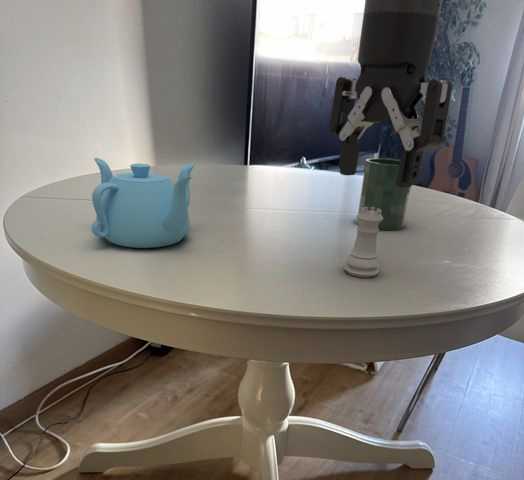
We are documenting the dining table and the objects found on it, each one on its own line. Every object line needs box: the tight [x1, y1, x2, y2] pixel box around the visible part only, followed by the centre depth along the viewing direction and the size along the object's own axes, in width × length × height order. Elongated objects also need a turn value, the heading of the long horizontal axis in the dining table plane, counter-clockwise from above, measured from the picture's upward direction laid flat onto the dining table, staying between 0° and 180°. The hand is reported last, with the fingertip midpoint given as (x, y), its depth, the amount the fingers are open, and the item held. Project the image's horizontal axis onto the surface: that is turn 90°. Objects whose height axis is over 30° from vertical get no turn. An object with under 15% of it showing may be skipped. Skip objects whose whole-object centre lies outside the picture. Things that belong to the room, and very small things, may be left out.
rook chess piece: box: [344, 207, 383, 279], centre depth 60 cm, size 4×4×8 cm
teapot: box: [91, 157, 196, 249], centre depth 68 cm, size 15×15×10 cm
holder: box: [356, 158, 411, 231], centre depth 83 cm, size 8×8×10 cm
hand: (374, 180), depth 56 cm, fingers open, 8 cm apart
